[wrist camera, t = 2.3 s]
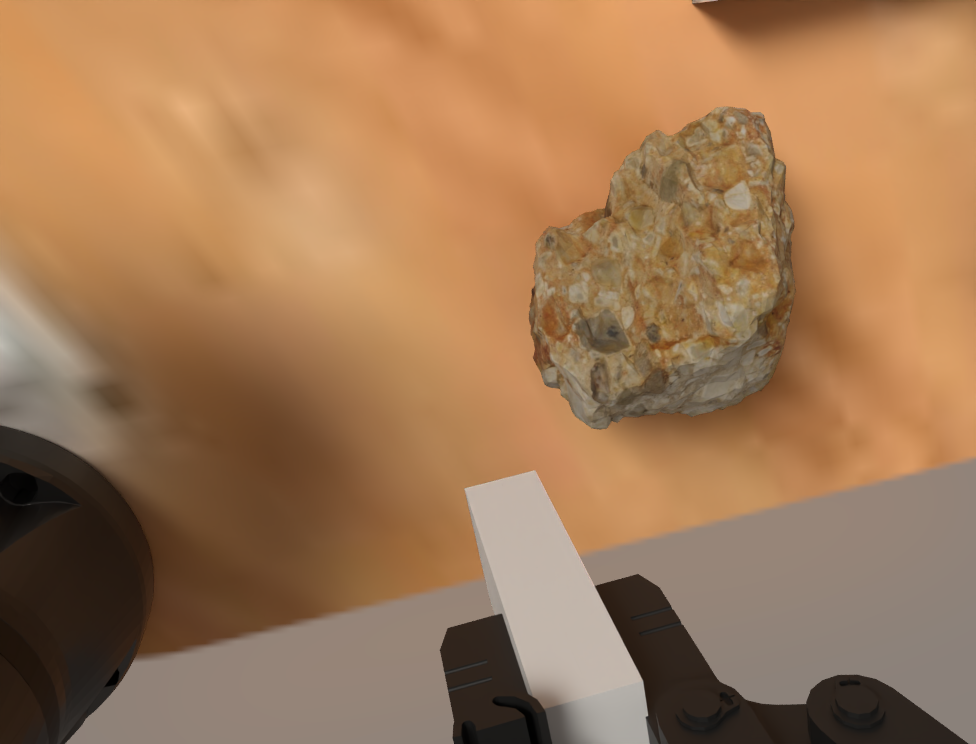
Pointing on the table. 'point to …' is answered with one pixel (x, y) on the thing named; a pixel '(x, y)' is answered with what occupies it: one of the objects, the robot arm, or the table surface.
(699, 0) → the tray
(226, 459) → the table surface
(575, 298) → the rock
